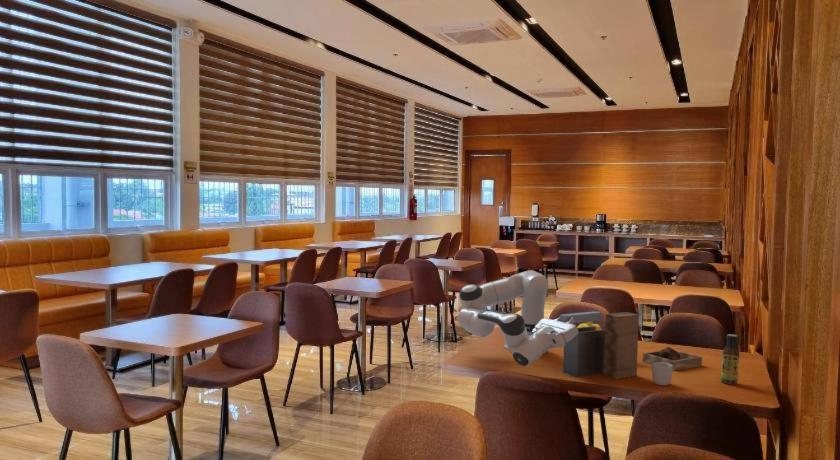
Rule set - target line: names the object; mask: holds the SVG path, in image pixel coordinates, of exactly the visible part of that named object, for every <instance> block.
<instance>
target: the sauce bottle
mask: <svg viewBox="0 0 840 460" xmlns="http://www.w3.org/2000/svg"><path fill="white" fill-rule="evenodd" d="M738 339H739V335H737V334H733V333H732V334H731V333H729V334H726V345H725V347H724V348H723V349H722V357H721V368H720V369H721V371H720V381H721V382H722V383H723V384H727V385H732V386H733V385H737V384H738V377H739V367H740V366H739V363H740V351H739V349H738Z"/></svg>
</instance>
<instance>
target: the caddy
mask: <svg viewBox="0 0 840 460" xmlns="http://www.w3.org/2000/svg"><path fill="white" fill-rule="evenodd" d="M674 350H675V351H676V352H678V353H679V354H680V355H681V356H680V360H678V359H677V358H676V357H675V356H673V355H671V353H670V356H669V357H668V359H665V358H661V357H658V355H659V352H660V351H661V350H656V351H650V352H644V353H642V363H645V364H649V365H652V363H654V362H663V363H669V364H671V365H673V369H672V372H674V371H680V370H684V369H691V368H697V367H702V365H703V356H700V355H696V354H692V353H687V352H684V351H679V350H676V349H674Z"/></svg>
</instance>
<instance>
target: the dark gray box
mask: <svg viewBox="0 0 840 460" xmlns="http://www.w3.org/2000/svg"><path fill="white" fill-rule="evenodd" d="M577 329H578V334H577V335H576V336H575V337H574V338H573V339H572V340H571V341H569V342H567V343H565V346H564V347H563V355H562V356H563V359H562V360H563V362H562V363H563V365H562V373H564V374H566V375H570V376H573V377H576V378H580V377H586V376H592V375H598V374H604V352H605V328H604V329H602V330H596V326H590V327H581V328H577Z"/></svg>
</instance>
